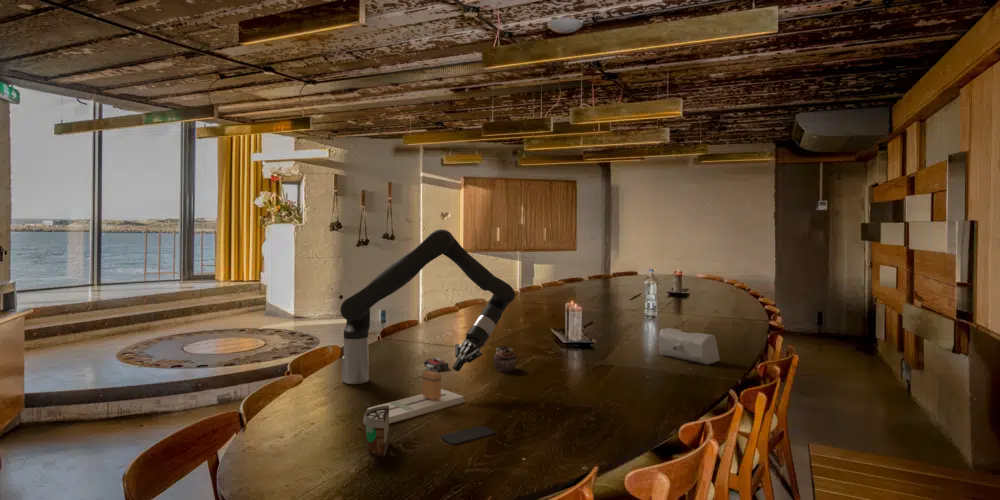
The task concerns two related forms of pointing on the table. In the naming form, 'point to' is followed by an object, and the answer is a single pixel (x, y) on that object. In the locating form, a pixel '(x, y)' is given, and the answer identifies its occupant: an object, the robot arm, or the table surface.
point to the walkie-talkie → (436, 365)
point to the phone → (467, 435)
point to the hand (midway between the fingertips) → (455, 369)
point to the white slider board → (419, 405)
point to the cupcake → (504, 359)
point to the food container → (377, 430)
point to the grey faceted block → (688, 346)
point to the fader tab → (431, 384)
